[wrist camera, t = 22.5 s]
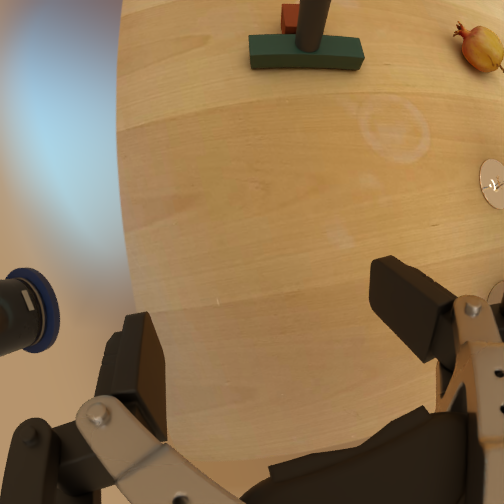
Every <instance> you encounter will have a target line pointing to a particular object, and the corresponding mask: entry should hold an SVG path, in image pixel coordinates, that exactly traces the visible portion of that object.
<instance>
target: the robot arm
mask: <svg viewBox="0 0 504 504" xmlns="http://www.w3.org/2000/svg"><path fill="white" fill-rule="evenodd" d="M369 302H370V306H371V308H372V310H373V311H374V312H375V313H376V314H377V315H378V316H379V317H380V318H381V320H382V321H383V322H384V323H385V324H386V325H387V326H388V327H389V328H390V329H391V330H392V331H393V332H394V333H395V334H396V335H397V336H398V337H399V338H400V339H401V340H402V341H403V342H404V343H405V344H406V345H407V346H408V347H409V348H410V349H411V351H412V352H413V353H414V354H415V355H416V356H417V357H418V358H419V359H420V360H421V361H422V362H423V363H426V362H428V361H430V360H432V359H434V358H437V359H438V362H437V365H436V409H435V413H431V414H429V412H428V411H427V410H426V409H425V407H424V406H423V405H422V406H420V407H418V408H417V409H415V410H413V411H411V412H409V413H407V414H405V415H403V416H401V417H399V418H397V419H395V420H393V421H391V422H390V423H389V424H387V425H386V426H385V427H384V428H382V429H381V430H380V431H379V432H377V433H376V434H375V435H373V436H372V437H371V438H369V439H368V440H367V441H365V442H364V443H363V444H361V445H360V446H357V447H354V448H348V449H342V450H335V451H328V452H321V453H312V454H309V455H306V456H302V457H299V458H296V459H292V460H289V461H286V462H283V463H279V464H275V465H271V466H269V467H268V468H269V472H270V477H268V478H267V479H265V480H263V481H261V482H259V483H258V484H256V485H255V486H253V487H252V488H251V489H249V490H248V491H247V492H246V493H244V494H243V496H241V497H240V498H239V499H238V498H237V497H236V496H234V495H233V494H231V493H230V492H228V491H227V490H225V489H224V488H223V487H221V486H220V485H219V484H217V483H216V482H214V481H213V480H212V479H211V478H209V477H208V476H207V475H205V474H204V473H202V472H201V471H200V470H199V469H198V468H196V467H195V466H194V465H193V464H191V463H190V462H189V461H188V460H187V459H185V458H184V457H183V456H182V455H181V454H179V453H178V452H177V451H176V450H175V449H174V448H172V447H171V446H170V445H168V444H167V443H164V444H162V443H161V442H163V441H167V421H166V383H165V358H164V353H163V350H162V347H161V344H160V341H159V339H158V336H157V333H156V331H155V328H154V325H153V323H152V320H151V317H150V315H149V313H148V312H147V311H146V312H141V313H136V314H131V315H126V317H125V321H124V325H123V329H122V331H120V332H115V333H114V334H113V335H112V337H111V338H110V339H109V341H108V342H107V344H106V347H105V352H104V356H103V359H102V366H101V368H100V372H99V377H98V381H97V386H96V390H95V396H94V398H92V399H90V400H88V401H87V402H85V403H84V404H83V405H82V406H81V407H80V409H79V410H78V412H77V415H76V420H75V421H72V422H69V423H66V424H63V425H60V426H58V427H54V428H51V426H50V425H49V424H48V423H47V422H46V421H45V420H43V419H41V418H30V419H27V420H25V421H24V422H22V423H21V424H20V425H19V426H18V427H17V429H16V430H15V432H14V434H13V437H12V441H11V445H10V449H9V453H8V458H7V462H6V467H5V472H4V477H3V483H2V489H1V496H0V504H101V489H102V488H105V487H108V486H112V485H116V486H117V488H118V489H119V490H120V491H121V493H122V494H123V495H124V496H125V497H126V498H127V499H128V501H129V502H130V503H131V504H504V293H503V297H502V300H501V303H497V304H491V305H489V303H488V302H487V301H485V300H484V299H482V298H480V297H477V296H473V295H463V296H460V297H456V296H455V295H454V294H452V293H451V292H450V291H448V290H447V289H445V288H444V287H443V286H441V285H440V284H438V283H437V282H434V281H433V279H431V278H430V277H428V276H426V275H425V274H424V273H423V272H421V271H420V270H418V269H416V268H414V267H411V266H408V265H406V264H404V263H403V262H401V261H400V260H398V259H397V258H395V257H394V256H392V255H389V256H386V257H382V258H378V259H375V260H373V261H372V263H371V268H370V286H369ZM46 328H47V311H46V306H45V303H44V300H43V297H42V295H41V293H40V291H39V290H38V288H37V287H36V286H35V284H34V283H33V282H31V281H30V280H28V279H27V278H23V277H18V278H12V279H5V280H0V356H4V355H6V354H9V353H11V352H14V351H17V350H19V349H22V348H25V347H27V346H32V345H35V344H37V343H39V342H40V341H41V340H42V339H43V337H44V335H45V332H46Z"/></svg>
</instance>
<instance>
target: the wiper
mask: <svg viewBox="0 0 504 504" xmlns="http://www.w3.org/2000/svg"><path fill="white" fill-rule="evenodd" d="M330 3H331V0H300V5H299V13H298V21H297V29H296V34H265V35H249V52H250V64H251V69H255V68H289V67H299V68H333V69H348V70H359V69H360V67H361V65H362V63H363V60H364V58H365V57H364V53H363V50H362V46H361V43H360V39H359V38H353V37H343V36H329V35H323V31H324V27H325V23H326V19H327V15H328V11H329V7H330Z"/></svg>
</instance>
